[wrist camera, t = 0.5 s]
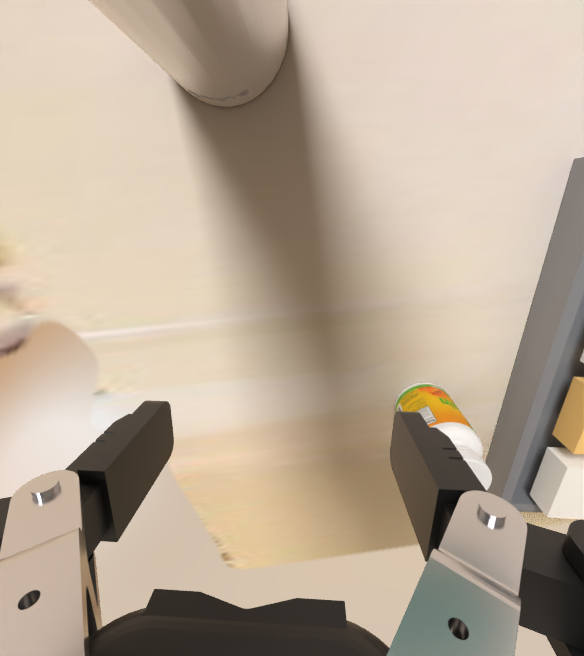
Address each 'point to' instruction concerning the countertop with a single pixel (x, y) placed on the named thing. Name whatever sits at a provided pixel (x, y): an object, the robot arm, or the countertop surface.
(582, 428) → the key
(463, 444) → the supplement bottle
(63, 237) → the countertop surface
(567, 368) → the keypad base
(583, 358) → the key
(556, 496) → the key
